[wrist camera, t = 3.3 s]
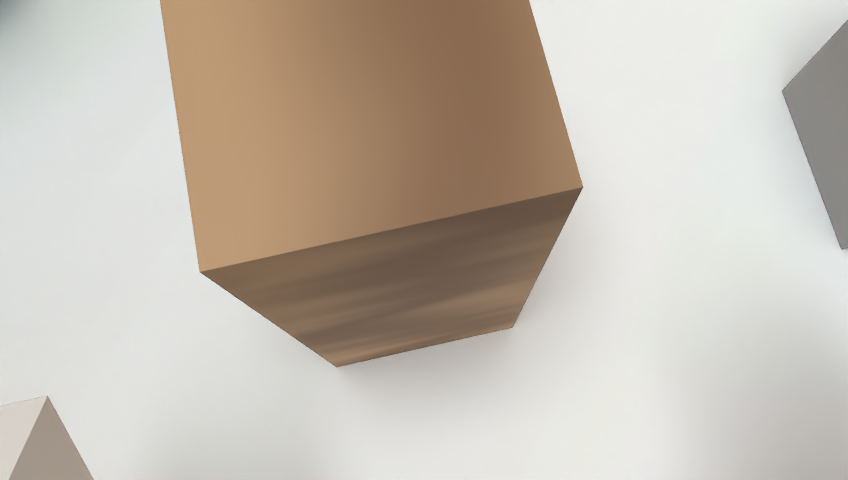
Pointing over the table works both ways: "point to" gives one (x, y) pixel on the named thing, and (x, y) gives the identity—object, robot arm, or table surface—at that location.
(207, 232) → the walnut block
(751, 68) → the table surface
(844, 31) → the slate block
